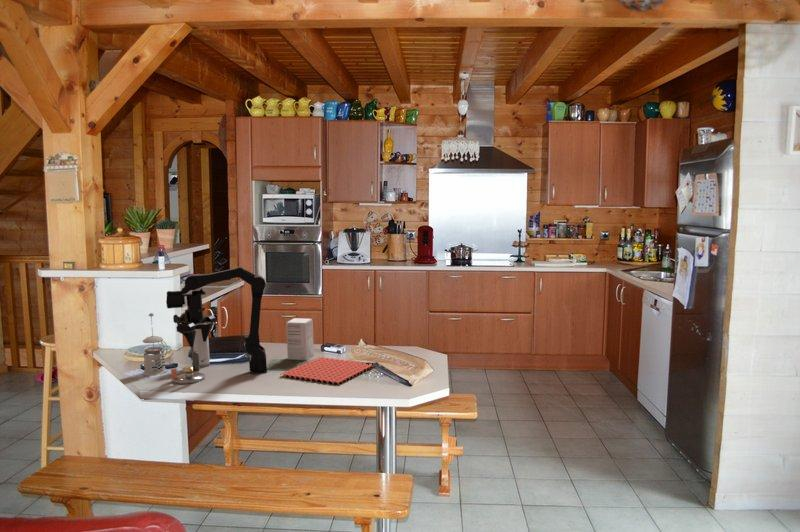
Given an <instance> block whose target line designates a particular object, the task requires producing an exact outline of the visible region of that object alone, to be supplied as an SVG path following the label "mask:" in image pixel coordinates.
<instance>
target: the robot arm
mask: <svg viewBox="0 0 800 532" xmlns="http://www.w3.org/2000/svg"><path fill="white" fill-rule="evenodd" d="M238 278H239V279H241V280H242V281H244V282H245V283H247V284H248V285H250V289H251V308H250V309H251V311H250V322H249V323H250V324H249V331H248V334H244V342H243V348H245V352H246V353H247V354H248V355H250V359H249V360H248V361H249V362H248V363H249V364H248V365H249V366H248V367H249V372H250V374H251V373H252V374H261V373H262V374H263V373H267V372H268V367H267V365H268V364H267V355H266V348H264V346H262V345H261V343H260V334H259V333H260V332H259V330H260V319H261V307H262V306H261V305H262V299H263V298H262V297H263V295H264V292H265V288H266V281H265V280H266V279H265V278H264V277H263V276H262V275H255V274H254V273H252V272H250V271H249V270H247V269H245V268H244V267H243V266H237V267H234V268H231V269H225V270H220V271H216V272H211V273H195V274H194V273H192V274H190V275H188V276H186V278H185V280H184V286H183V287H182V288H181V290H176V291H175V290H173V291H172V290H168V291H167V292H166V300H165V303H166V308H167V309H169V310H170V309H177V308H184V305H186V307H187V308H186V309H185V310H184V313H183V314H180V313H177V314H176V313H175V314H174V315H173V316H172V319H173V323H175V324H176V332H177V333H179V334H182V335H183V336H184V337H185V339H186V341H187V343H188V346H189V347H190V348H194V347H193V346H194V340H195V334H196V331H194V330H195V328H196V327H195V326H197V325H198V326H199V327H200V328H201V332H202V338H203V342H206V340H207V338H208V339H209V335H210V332H211V330H212V328H213V326H214V324H215V323H216V317H215V316H214V314H213V315H211V314H210V315H205V314H204V311H206V308H205V307H203V298H202V297H203V295H206V294H207V291H206V290H205V289H204V288H203V287H205V286H208V285H210V284H213V283H218V282H223V281H227V280H232V279H238ZM198 289H199V290H198ZM190 291H191V293H189V292H190Z"/></svg>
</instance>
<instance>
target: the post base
mask: <svg viewBox="0 0 800 532" xmlns="http://www.w3.org/2000/svg"><path fill="white" fill-rule="evenodd" d="M177 369H178V368H177V367H173V368H170V374H171V375H170V376H171V381H173V383H174V384H178V385H188V384H195V383H199V381H200V382H203V381H204V380H205V379H206V375H205V374H204V373H202V372H199V373H197V374H194V373H182V374H179V375H178V372H177V371H178V370H177Z"/></svg>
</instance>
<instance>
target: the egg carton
mask: <svg viewBox="0 0 800 532" xmlns="http://www.w3.org/2000/svg"><path fill="white" fill-rule="evenodd" d="M362 362H363V361H358V362H357V361H354V360H348V359H346V360H345V359H343V358H342V359H339V358H335V359H334V357H331V358H329V357H324V356H319V357H317V358H315V359H312V360H310V361H307V362H306V363H303V364H301V365H299V366H296V367H293V368H292V369H288V370H285V371H284V372H281V373H280V376H279V377H281V375H283V377H284V379H285V378H287V377H286V376H288V377H289V379H290V380H291V379H292V376H293V378H294V380H297V378H299V380H300V381H302V378H303V379H304V381H307V379H308V380H310V382H313V380H314V381H315V383H318V380H319V382H321V384H324V383H325V382H326V384H327V385H329V382H330V383H332V386H333V385H334V386H335V384H334V383H336V384H337V386H338V387H339V386H340V383H341V385H343V383H344V381H345V383H347V379H348V381H350V380H351V379H354V376H355V377H357V376H358V375H359V376H360V375H361V372H362V374H364V371H365V372H367V370H369V369H370V370H371V368H372V363H369V365H368V364H366V363H367V362H364V363H362ZM362 364H363V365H362ZM364 369H365V370H364ZM323 382H324V383H323Z"/></svg>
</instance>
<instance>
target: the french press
mask: <svg viewBox="0 0 800 532" xmlns="http://www.w3.org/2000/svg"><path fill="white" fill-rule="evenodd" d="M154 316H155V315H154V313H152V312H151V313H149V314H148V317H150V321H151V323H150V324H153V317H154ZM151 334H152V335H150V336H148V337H145V338H144V339H143V340H142V343H143V344H152V347H148V348H145V349H144V353H143V362H144V365H143V366H144V371H143V372H142V375H143V376H147V377H148V376H150V377H152V376H158V375H157V374H160V375H163V374H165V373H164V372H165V371H166V370H167V369H166V366H165V365H166V364H165V363H166V362H165V357H166V356H167V354H168V353H167V352H168V346H167V342H165V341H164V338H163V337H161V336H158V335H154V333H153V328H151ZM157 343H158V345H162V346H163V347H161V346H159V347H158V346H157V347H156V346H155V347H154V344H157ZM164 344H165V345H164ZM165 347H166V351H165ZM158 365H160V366H159V367H157V368H152V367H156V366H158ZM162 365H163V367H162ZM160 367H162V368H160ZM158 368H160V369H158ZM165 369H166V370H165ZM162 373H163V374H162Z"/></svg>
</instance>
